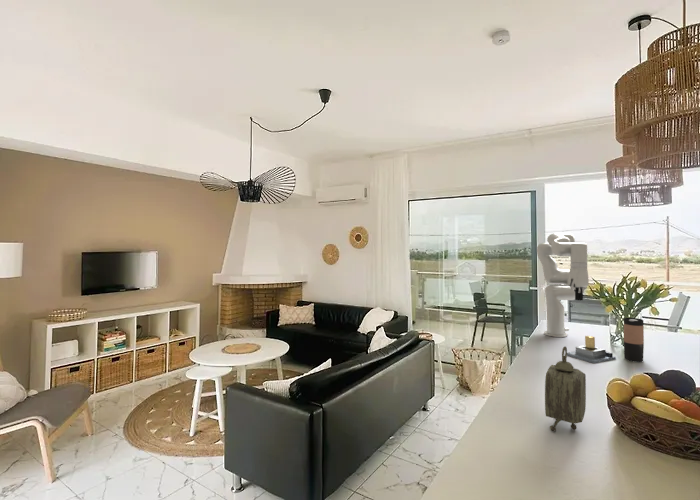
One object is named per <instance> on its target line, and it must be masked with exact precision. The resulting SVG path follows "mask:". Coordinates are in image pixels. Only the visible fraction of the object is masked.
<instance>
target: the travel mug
mask: <svg viewBox="0 0 700 500" xmlns="http://www.w3.org/2000/svg"><path fill="white" fill-rule="evenodd" d="M644 331H645V330H644V319H642V318H637V317H624V318H623V354H624V360H626V361H628V360H629V362H633V361H634V363H642V361H643V362H644V351H645V348H644V347H645V339H644V338H645V337H644V335H645V332H644Z"/></svg>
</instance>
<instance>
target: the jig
mask: <svg viewBox="0 0 700 500" xmlns="http://www.w3.org/2000/svg"><path fill="white" fill-rule="evenodd" d="M567 357H572V358H575V359H578V360H581V361H585V362H588V363H592V364H597V363H604V362H608V361H613V360H614V361H615V360H616V358H617V357H616V356H614V355H613V352H610V351H606V349H605V348H600V347H597V346H595V350H589V349H585V344H584V345H579V346H575V351H569V352H568V351H567Z"/></svg>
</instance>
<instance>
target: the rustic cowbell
mask: <svg viewBox="0 0 700 500" xmlns="http://www.w3.org/2000/svg"><path fill="white" fill-rule="evenodd" d="M567 348H568V347H567V346H563V348H562V351H561V360H559V361H557V362H556V363H555V364H551V365H550V366H549V367H548V368H547V371H546V373H545V380H544V404H545V405H544V410H545V411H544V412H545V414H544V415H545V417H548V418H551V419H553V420H554V419H555V421H554V423H553V425H550V426H549V430H550V431H551V432H556V431H557V428H556V426H557V425H558V423H560V422H561V421H562V422H566V423H570V429H572V430H574V431H575V430H576V429H578V428H577V427H578V426H577V424H579V423H582V422H583V421H584V417H585V414H586V409H587V408H586V405H587V404H586V403H587V401H586V400H587V397H586V396H587V395H586V394H587V393H586V392H587V383H586V382H587V381H586V380H587V379H586V373H584V372H583V371H581V370H580V369H578V368H574V366H573V365H572V363H571V362H569V361H568V360H567V357H568V356H567V353H568V349H567Z"/></svg>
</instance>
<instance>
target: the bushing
mask: <svg viewBox="0 0 700 500" xmlns="http://www.w3.org/2000/svg"><path fill="white" fill-rule="evenodd" d="M584 341H585V342H584V345H585V349H589V350H595V347H596V337H595V336H593V335H585V336H584Z"/></svg>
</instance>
